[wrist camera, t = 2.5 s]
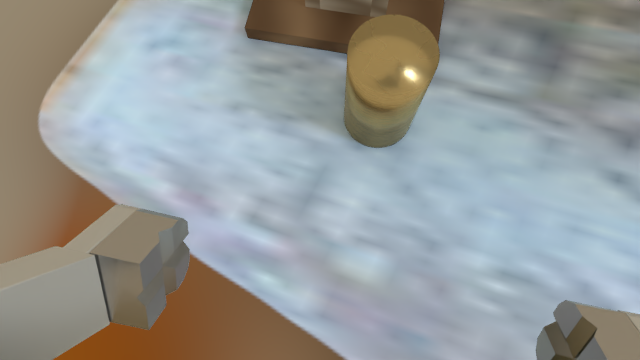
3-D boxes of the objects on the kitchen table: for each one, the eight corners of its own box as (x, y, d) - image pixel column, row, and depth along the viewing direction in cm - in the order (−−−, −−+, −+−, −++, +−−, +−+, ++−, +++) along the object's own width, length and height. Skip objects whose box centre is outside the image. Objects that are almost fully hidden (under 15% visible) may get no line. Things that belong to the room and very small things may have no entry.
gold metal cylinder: (414, 93, 28) (444, 21, 21) (405, 153, 27) (433, 100, 19) (350, 82, 29) (356, 8, 21) (338, 141, 27) (339, 85, 20)
